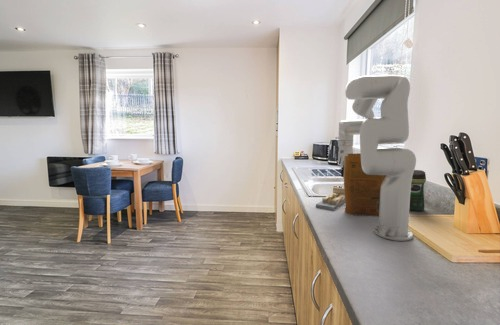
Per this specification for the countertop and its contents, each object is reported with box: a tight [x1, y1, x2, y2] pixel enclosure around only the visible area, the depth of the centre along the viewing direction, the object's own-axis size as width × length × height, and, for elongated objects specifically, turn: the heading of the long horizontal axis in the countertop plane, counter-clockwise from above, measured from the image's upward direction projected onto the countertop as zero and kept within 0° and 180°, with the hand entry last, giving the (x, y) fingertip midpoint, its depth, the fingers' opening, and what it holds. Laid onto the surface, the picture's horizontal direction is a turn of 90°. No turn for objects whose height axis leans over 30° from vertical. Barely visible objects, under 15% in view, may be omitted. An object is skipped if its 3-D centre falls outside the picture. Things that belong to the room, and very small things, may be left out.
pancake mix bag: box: [342, 152, 387, 217], centre depth 117 cm, size 7×19×28 cm, turn 77°
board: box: [315, 192, 345, 211], centre depth 135 cm, size 20×9×5 cm, turn 140°
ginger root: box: [321, 186, 345, 204], centre depth 136 cm, size 14×7×5 cm, turn 140°
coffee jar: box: [409, 169, 427, 212], centre depth 123 cm, size 10×8×19 cm
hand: (344, 176), depth 145 cm, fingers closed
